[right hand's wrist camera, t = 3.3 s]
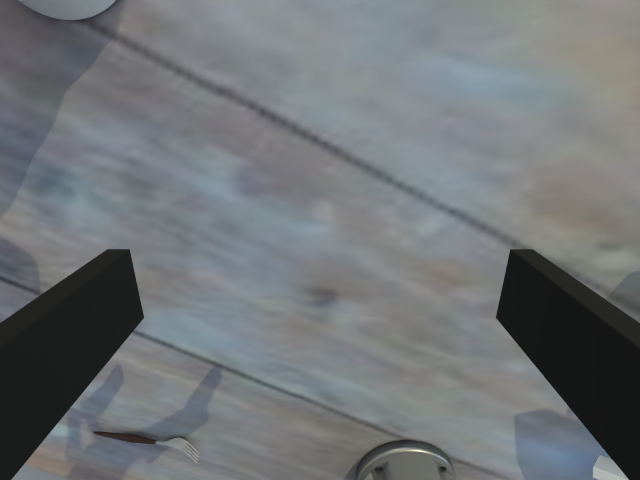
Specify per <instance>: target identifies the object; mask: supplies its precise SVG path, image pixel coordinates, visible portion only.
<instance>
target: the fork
mask: <svg viewBox="0 0 640 480" xmlns="http://www.w3.org/2000/svg"><path fill="white" fill-rule="evenodd" d="M93 433H94V434H97V435H101V436H105V437H109V438H114V439H118V440H123V441H127V442H133V443H146V444H161V445H166V446H169V447H172V448H175V449H177V450H180V451H182V452H183V453H185V454H186V455H188V456H189V457H190V458H191V459H192V460H193V461H194V462H195V463H196V464H198V463H197V461H198V459H197V458H196V457H195V456H194V455H193V454H192V453H191V452H190V451H189V450H191V451H192V452H193V453H194V454H195V455H196V456H197V457H199V456H198V455H197V454H196V453H195V452H194V451H193V450H192V449H191V448H193V449H194V450H195V451H196V452H197V453H198V454H200V453H199V452H198V451H197V450H196V449H195V448H194V447H193V446H192V445H191V444H190V443H188V442H187V441H186V440H184V439H183V438H174V439H171V440H168V441H165V442H160V441H156V440H153V439H149V438H145V437H141V436H137V435H131V434H118V433H109V432H93ZM187 444H188V445H189V446H190V447H191V448H190V447H189V446H188V445H187ZM186 447H187V448H188V449H189V450H188V449H187V448H186ZM185 450H186V451H187V452H189V453H190V454H191V455H192V456H193V457H194V458H195V459H196V460H197V461H196V460H195V459H194V458H193V457H192V456H191V455H190V454H188V453H187V452H186V451H185Z"/></svg>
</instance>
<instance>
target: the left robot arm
mask: <svg viewBox="0 0 640 480" xmlns="http://www.w3.org/2000/svg"><path fill="white" fill-rule="evenodd" d="M18 1H20V2H21V3H23V4H24V5H26V6H27V7H29V8H31V9H32V10H34V11H36V12H38V13H40V14H43V15H46V16H49V17H52V18H56V19H62V20H81V19H86V18H90V17H92V16H95V15H97V14H99V13H101V12H103V11H104V10H106V9H107V8H108V7H110V6H111V5H112V4H113V3H114V2H115V1H116V0H18Z"/></svg>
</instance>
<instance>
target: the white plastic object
mask: <svg viewBox="0 0 640 480" xmlns="http://www.w3.org/2000/svg"><path fill="white" fill-rule="evenodd" d="M593 478H595V479H598V480H629V479H628V478H627V477H626V476H625V474H624V473H623V472H622V471H621V470H620V468H619V467H618V466H617V465H616V463H615V462H614V461H613V460H612V459H610V458H607V457H604V456H601V455H600V456H599V457H598V459H597V461H596V463H595V464H594V466H593Z"/></svg>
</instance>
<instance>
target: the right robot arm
mask: <svg viewBox="0 0 640 480" xmlns="http://www.w3.org/2000/svg"><path fill="white" fill-rule="evenodd" d="M143 318H144V315H143V311H142V306H141V301H140V296H139V292H138V287H137V282H136V278H135V273H134V268H133V263H132V259H131V254H130V249H107V250H106V251H104V252H103V253H101V254H100V255H98V256H97V257H96V258H94V259H93V260H91V261H90V262H88V263H87V264H85V265H84V266H83V267H81V268H80V269H78V270H77V271H75V272H74V273H72V274H71V275H69V276H68V277H67V278H65V279H64V280H62V281H61V282H59V283H58V284H56V285H55V286H53V287H52V288H51V289H49V290H48V291H46V292H45V293H43V294H42V295H40V296H39V297H38V298H36V299H35V300H33V301H32V302H30V303H29V304H27V305H26V306H24V307H23V308H22V309H20V310H19V311H17V312H16V313H14V314H13V315H11V316H10V317H9V318H7V319H6V320H4V321H3V322H1V323H0V480H11V479H12V478H13V477H14V476H15V474H16V473H17V472H18V471H19V469H20V468H21V467H22V466H23V465H24V463H25V462H26V461H27V460H28V459H29V457H30V456H31V455H32V454H33V452H34V451H35V450H36V449H37V448H38V446H39V445H40V444H41V443H42V441H43V440H44V439H45V438H46V437H47V435H48V434H49V433H50V432H51V430H52V429H53V428H54V427H55V426H56V424H57V423H58V422H59V421H60V419H61V418H62V417H63V416H64V415H65V413H66V412H67V411H68V410H69V409H70V407H71V406H72V405H73V404H74V402H75V401H76V400H77V399H78V398H79V396H80V395H81V394H82V393H83V391H84V390H85V389H86V388H87V387H88V385H89V384H90V383H91V382H92V380H93V379H94V378H95V377H96V376H97V374H98V373H99V372H100V371H101V369H102V368H103V367H104V366H105V365H106V363H107V362H108V361H109V360H110V358H111V357H112V356H113V355H114V354H115V352H116V351H117V350H118V349H119V347H120V346H121V345H122V344H123V343H124V341H125V340H126V339H127V338H128V337H129V335H130V334H131V333H132V332H133V330H134V329H135V328H136V327H137V326H138V324H139V323H140V322H141V321H142V319H143ZM496 318H497V319H498V321H499V322H500V323H501V324H502V326H503V327H504V328H505V329H506V330H507V332H508V333H509V334H510V335H511V337H512V338H513V339H514V340H515V341H516V343H517V344H518V345H519V346H520V347H521V349H522V350H523V351H524V352H525V354H526V355H527V356H528V357H529V358H530V360H531V361H532V362H533V363H534V365H535V366H536V367H537V368H538V369H539V371H540V372H541V373H542V374H543V376H544V377H545V378H546V379H547V380H548V382H549V383H550V384H551V385H552V387H553V388H554V389H555V390H556V391H557V393H558V394H559V395H560V396H561V398H562V399H563V400H564V401H565V402H566V404H567V405H568V406H569V407H570V409H571V410H572V411H573V412H574V413H575V415H576V416H577V417H578V418H579V419H580V421H581V422H582V423H583V424H584V426H585V427H586V428H587V429H588V430H589V432H590V433H591V434H592V435H593V437H594V438H595V439H596V440H597V441H598V443H599V444H600V445H601V446H602V448H603V449H604V450H605V451H606V452H607V454H608V455H609V456H610V457H611V459H612V460H613V461H614V462H615V463H616V465H617V466H618V467H619V468H620V470H621V471H622V472H623V473H624V474H625V476H626V477H627V478H628V479H629V480H640V323H639V322H637V321H636V320H634V319H633V318H631V317H630V316H629V315H627V314H626V313H624V312H623V311H621V310H620V309H618V308H617V307H616V306H614V305H613V304H611V303H610V302H608V301H607V300H605V299H604V298H602V297H601V296H600V295H598V294H597V293H595V292H594V291H592V290H591V289H589V288H588V287H587V286H585V285H584V284H582V283H581V282H579V281H578V280H576V279H575V278H573V277H572V276H571V275H569V274H568V273H566V272H565V271H563V270H562V269H560V268H559V267H557V266H556V265H555V264H553V263H552V262H550V261H549V260H547V259H546V258H544V257H543V256H542V255H540V254H539V253H537V252H536V251H534V250H533V249H510V254H509V259H508V263H507V268H506V273H505V278H504V282H503V287H502V292H501V296H500V301H499V306H498V311H497V315H496ZM356 480H456V476H455V473H454V470H453V467H452V465H451V462H450V460H449V458H448V457H447V455H446V454H445V453H444V452H443V451H441V450H440V449H439V448H437V447H435V446H433V445H431V444H428V443H425V442H420V441H413V440H404V441H396V442H391V443H388V444H384V445H382V446H380V447H378V448H376V449H374V450H372V451H371V452H370V453H368V454H367V455H366V456H365V457H364V458H363V459H362V461H361V462H360V464H359V466H358V468H357V471H356Z"/></svg>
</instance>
